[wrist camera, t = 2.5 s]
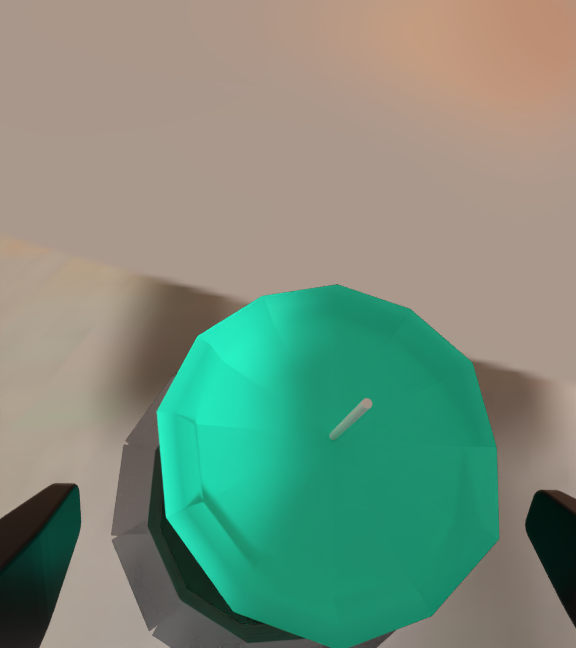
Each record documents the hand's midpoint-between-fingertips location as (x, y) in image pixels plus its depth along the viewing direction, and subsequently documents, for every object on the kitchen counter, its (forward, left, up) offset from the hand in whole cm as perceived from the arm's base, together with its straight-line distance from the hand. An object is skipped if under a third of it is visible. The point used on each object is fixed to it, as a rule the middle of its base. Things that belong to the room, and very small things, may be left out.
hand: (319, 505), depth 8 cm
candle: (+1, +1, -9) cm, 9 cm away
